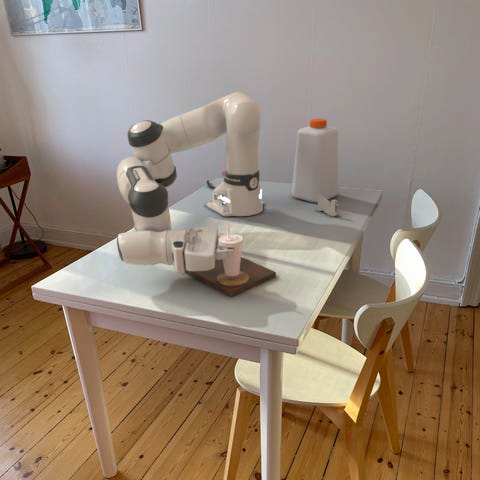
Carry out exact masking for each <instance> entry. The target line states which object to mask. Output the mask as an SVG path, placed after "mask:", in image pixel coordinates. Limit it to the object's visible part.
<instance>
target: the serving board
mask: <svg viewBox="0 0 480 480" xmlns="http://www.w3.org/2000/svg"><path fill="white" fill-rule="evenodd" d="M184 273H186V274H187V275H189V276H191V277H193V278H195V279H197V280H198V281H201V282H202V283H204V284H206V285H208V286H209V287H212V288H214V289H215V290H217V291H219V292H221V293H223V294H225V295H227V296H229V297H231V298H232V297H234V296H236V295H239V294H241V293H243V292H246V291H247V290H250V289H252V288H255V287H257V286H259V285H261V284H263V283H265V282H268V281H271V280H273V279H275V278H276V277H277V272H276V271H274V270H272V269H270V268H268V267H265V266H263V265H261V264H259V263H256V262H254V261H252V260H250V259H247V258H245V257H243V256H241V260H240V269H239V274H238V275H236V276H227V275H226V274H225V270H224V264H223V259H221V260H216V261H215V268H213V269H211V270H207V271H187V270H185V272H184Z"/></svg>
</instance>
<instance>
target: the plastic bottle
mask: <svg viewBox="0 0 480 480" xmlns="http://www.w3.org/2000/svg"><path fill="white" fill-rule="evenodd" d="M296 133H297V134H296V143H295V144H296V145H295V152H294V153H295V155H294V165H293V175H292V184H291V185H292V186H291V195H292V197H293V198H294V199H297V200H302V201H306V202H309V203H310V202H311V203H317V204H318V196H319V195H323V196H324V198H325V199H327V200H328V201H329V200H330V199H331V200H332V199H333V198H335V197H337V196H338V194H339V130H338V128H337V127H334V126H329V125H328V121H327V119H325V118H312V119H310V120H309V125H308V126H305V127H302V128H299V129H298V131H297V132H296Z"/></svg>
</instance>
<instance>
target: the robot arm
mask: <svg viewBox="0 0 480 480" xmlns="http://www.w3.org/2000/svg"><path fill="white" fill-rule="evenodd" d="M260 129H261V109H260V106H259V105H258V103H257V102H256V101H255V100H254V99H253V98H252V97H250V96H249V95H248V94H246V93H245V92H243V91H242V92H241V91H235V92H232V93H230V94H228V95H227V94H226V95H225V96H222V97H220V98H218V99H216V100H213V101H212V102H210V103H207V104H205V105H204V106H203V105H202V106H200V107H199V108H195V109H192V110H189V111H185V112H184V113H181V114H178V115H176V116H172V117H170V118H169V119H167V120H164V122H163V121H162V122H161V123H157V122H156V121H153V120H148V119H146V120H140V121H138V122H136V123H134V124H132V125H131V126H130V127H129V129H128V131H127V140H128V144H129V146H130V147H131V151H132V153H133V156H128V157H125V158H124V159H122V160H121V161H120V162H119V163H118V166H117V168H116V182H117V187H118V190H119V193H120V194H121V197H122V199H123V200H124V201H125V202H126V203H127V204H128V205H129V207H130V210H131V214H132V219H133V224H134V226H133V228H132V229H131V230H129V231H125V232H120V233H118V234H117V238H116V245H117V251H118V255H119V258H120V260H121V261H122V263H124V264H127V265H133V266H156V265H160V264H161V265H167V266H173V267H174V269H175V272H176V273H178V274H179V273H181V274H183V273H185V270H187V271H207V270H211V269H213V268H215V261H216V260H221V259H224V258H227V257H234V248H227V249H226V250H221V249H218V246H219V245H220V244H219V243H218V242H219V237H221V236H223V235H224V234H219V228H218V227H217V226H200V227H193V228H191V229H190V230H189V231H188V230H187V229H173V227H172V220H171V212H170V207H169V191H168V190H167V188H169V187H170V186H172V185H173V184H175V183H174V182H175V181H176V180H177V177H178V174H177V168H176V165H175V163H174V159H173V156H172V154H176V153H181V152H184V151H187V150H191V149H194V148H196V147H200V146H202V145H205V144H208V143H212V142H214V141H215V140H217V139H218V138H220V137H222V136H223V135H225V134H226V138H225V139H226V142H225V162H226V163H225V165H226V171H222V172H221V174H222V176H224V177H223V181H222V182H221V183H219V184H218V185H217V186H213V185H211V184H210V181H209V180H208V179H207V180H206V185H207V186H208V188H210V189H213V191H212V196H211V197H212V199H211V200H209V201H207V203H206V207H207V208H209V209H210V210H213V211H214V212H216V213H217V214H219V215H220V216H222V217H249V216H254V215H258V214H260V213H262V212H263V210H264V208H263V206H264V201H262V194H263V193H262V192H263V190H262V189H261V185H260V176H261V174H260V170H259V141H260V131H261V130H260Z"/></svg>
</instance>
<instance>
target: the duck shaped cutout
mask: <svg viewBox="0 0 480 480" xmlns="http://www.w3.org/2000/svg"><path fill="white" fill-rule="evenodd" d="M317 212H323V213H325V214H326V215H328V216H330V217H336V216H337V217H338V216H339V215H340V212H339V201H338V200H337V199H331V200H329V199H328V200H327V199H325V198H324V196H323V195H319V196H318V203H317Z"/></svg>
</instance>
